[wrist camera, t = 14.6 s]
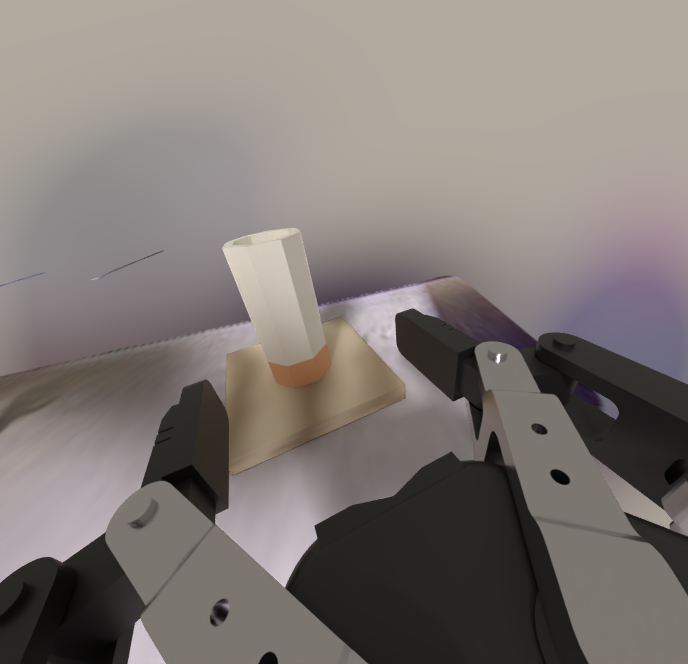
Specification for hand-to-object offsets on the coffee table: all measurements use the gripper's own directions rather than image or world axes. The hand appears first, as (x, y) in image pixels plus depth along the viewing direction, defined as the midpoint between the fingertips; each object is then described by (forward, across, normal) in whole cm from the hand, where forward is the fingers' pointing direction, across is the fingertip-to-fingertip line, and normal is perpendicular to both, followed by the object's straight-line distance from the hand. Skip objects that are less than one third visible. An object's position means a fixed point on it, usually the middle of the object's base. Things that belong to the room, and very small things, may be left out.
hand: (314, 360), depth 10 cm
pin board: (+11, 0, +10) cm, 15 cm away
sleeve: (+11, 0, +8) cm, 14 cm away
